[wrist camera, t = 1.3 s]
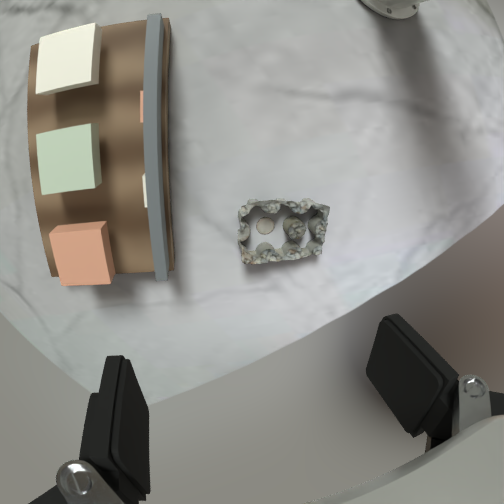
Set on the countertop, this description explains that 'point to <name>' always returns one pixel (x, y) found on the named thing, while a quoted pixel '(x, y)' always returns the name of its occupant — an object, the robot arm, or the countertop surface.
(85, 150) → the key sage
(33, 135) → the keypad
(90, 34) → the key cream
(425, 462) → the robot arm
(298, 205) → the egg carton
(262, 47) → the countertop surface
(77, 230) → the key terracotta
